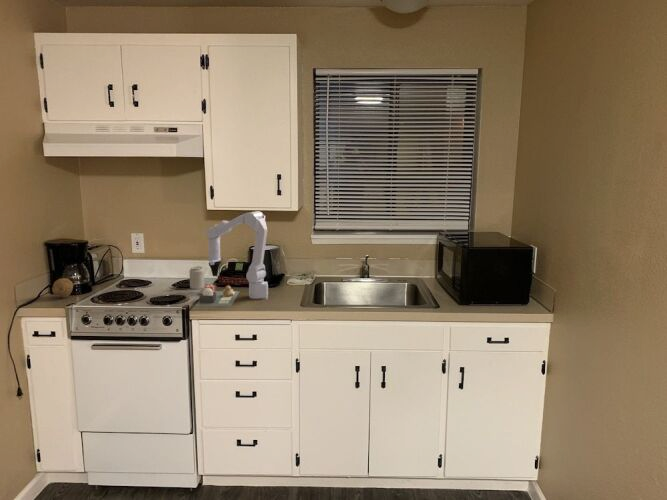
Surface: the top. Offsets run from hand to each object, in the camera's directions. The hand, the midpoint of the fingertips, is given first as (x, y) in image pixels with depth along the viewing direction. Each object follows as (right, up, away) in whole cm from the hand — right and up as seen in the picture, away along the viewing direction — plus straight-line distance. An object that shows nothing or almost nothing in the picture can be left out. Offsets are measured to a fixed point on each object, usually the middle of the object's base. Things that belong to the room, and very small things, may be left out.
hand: (215, 275), depth 244 cm
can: (-12, -8, +9) cm, 17 cm away
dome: (+1, -10, -16) cm, 19 cm away
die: (-2, -9, -3) cm, 10 cm away
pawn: (+8, -10, -6) cm, 14 cm away
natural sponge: (-72, -11, -12) cm, 74 cm away
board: (+4, -12, -11) cm, 16 cm away
